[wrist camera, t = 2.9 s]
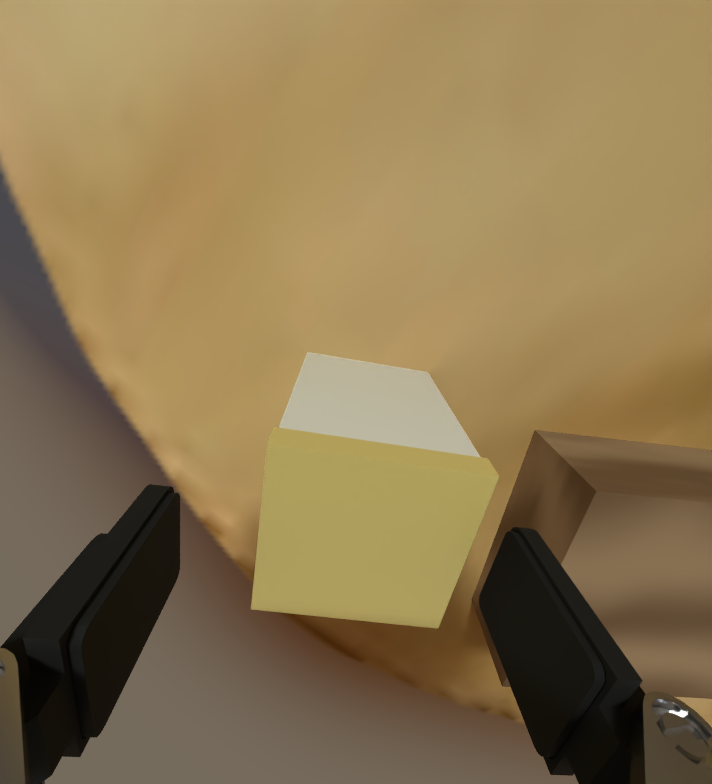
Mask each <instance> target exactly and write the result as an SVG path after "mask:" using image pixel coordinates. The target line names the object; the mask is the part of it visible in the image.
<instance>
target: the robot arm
mask: <svg viewBox="0 0 712 784" xmlns="http://www.w3.org/2000/svg"><path fill="white" fill-rule="evenodd" d="M179 570H180V495H179V494H178V493H174V489H173V487H168V486H160V485H152V484H150V485H148V486H147V487H146V488H145V489H144V490H143V491H142V493H141V494H140V495H139V496H138V497H137V499H136V500H135V501H134V502H133V503H132V505H131V506H130V507H129V508H128V510H127V511H126V512H125V513H124V515H123V516H122V517H121V518H120V519H119V521H118V522H117V523H116V524H115V526H114V527H113V528H112V529H111V530H110V532H109V533H108V534H99V535H97V536H96V537H95V538H94V539H93V540H92V541H91V542H90V543H89V544H88V545H87V546H86V548H85V549H84V550H83V551H82V552H81V554H80V555H79V556H78V557H77V558H76V559H75V561H74V562H73V563H72V564H71V565H70V566H69V568H68V569H67V570H66V571H65V572H64V574H63V575H62V576H61V577H60V578H59V579H58V580H57V582H56V583H55V584H54V585H53V586H52V587H51V589H50V590H49V591H48V592H47V593H46V594H45V596H44V597H43V598H42V599H41V600H40V602H39V603H38V604H37V605H36V606H35V607H34V609H33V610H32V611H31V612H30V613H29V614H28V616H27V617H26V618H25V619H24V620H23V621H22V623H21V624H20V625H19V626H18V627H17V628H16V630H15V631H14V632H13V633H12V634H11V635H10V637H9V638H8V639H7V640H6V641H5V643H4V644H3V645H2V646H1V647H0V784H45V780H46V779H47V778H48V777H50V776H51V775H52V774H53V772H54V770H55V768H56V766H57V765H58V763H59V761H60V759H61V757H62V756H67V757H68V756H69V757H80V756H81V754H82V752H83V750H84V748H85V746H86V744H87V743H88V740H89V739H90V737H97V736H98V735H99V734H100V733H101V731H102V730H103V728H104V726H105V725H106V722H107V720H108V718H109V716H110V714H111V712H112V710H113V708H114V706H115V704H116V702H117V700H118V698H119V696H120V694H121V692H122V690H123V688H124V686H125V684H126V682H127V680H128V678H129V676H130V674H131V672H132V669H133V668H134V665H135V664H136V662H137V660H138V657H139V656H140V654H141V652H142V650H143V647H144V645H145V643H146V641H147V639H148V637H149V635H150V633H151V631H152V629H153V627H154V625H155V623H156V621H157V619H158V617H159V615H160V613H161V611H162V609H163V607H164V605H165V603H166V600H167V599H168V597H169V594H170V592H171V591H172V589H173V587H174V585H175V583H176V580H177V578H178V574H179ZM479 606H480V610H481V612H482V615H483V617H484V620H485V622H486V625H487V628H488V630H489V633H490V635H491V638H492V640H493V643H494V645H495V648H496V650H497V653H498V656H499V658H500V661H501V663H502V666H503V668H504V671H505V673H506V676H507V678H508V681H509V683H510V686H511V689H512V691H513V694H514V696H515V699H516V701H517V704H518V706H519V709H520V711H521V714H522V716H523V719H524V722H525V724H526V727H527V729H528V732H529V734H530V737H531V739H532V742H533V744H534V747H535V749H536V751H537V752H538V754H540V755H541V756H543V757H544V759H545V762H546V764H547V767H548V769H549V772H550V774H551V775H573V774H575V776H576V778H577V781H578V783H579V784H712V727H711V726H710V725H709V724H708V723H707V722H706V721H705V720H704V719H703V718H702V717H701V716H700V715H699V714H698V713H697V712H696V711H694V710H693V709H692V708H690V707H689V706H688V705H686V704H685V703H684V702H682V701H681V700H679V699H677V698H675V697H673V696H671V695H669V694H666V693H663V692H660V691H650V692H649V693H647V694H645V693H644V691H643V690H642V688H641V687H640V684H641V683H642V681H643V680H642V679H641V678H640V676H639V675H638V673H637V672H636V670H635V669H634V668H633V666H632V665H631V663H630V662H629V661H628V659H627V658H626V656H625V655H624V653H623V652H622V651H621V649H620V648H619V646H618V645H617V644H616V642H615V641H614V639H613V638H612V636H611V635H610V634H609V632H608V631H607V629H606V628H605V627H604V625H603V624H602V622H601V621H600V619H599V618H598V617H597V615H596V614H595V612H594V611H593V610H592V608H591V607H590V605H589V604H588V602H587V601H586V600H585V598H584V597H583V595H582V594H581V593H580V591H579V590H578V588H577V587H576V585H575V584H574V583H573V581H572V580H571V578H570V577H569V576H568V574H567V573H566V571H565V570H564V568H563V567H562V566H561V564H560V563H559V561H558V560H557V559H556V557H555V556H554V554H553V553H552V551H551V550H550V549H549V547H548V546H547V544H546V543H545V542H544V540H543V539H542V537H541V536H540V534H539V533H538V532H537V531H536V530H534V529H530V528H522V527H513V528H512V529H511V531H508V532H506V534H505V536H504V538H503V541H502V543H501V545H500V548H499V550H498V552H497V555H496V557H495V559H494V562H493V564H492V567H491V569H490V571H489V574H488V576H487V578H486V581H485V583H484V585H483V588H482V590H481V593H480V595H479Z"/></svg>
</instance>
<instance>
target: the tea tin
mask: <svg viewBox="0 0 712 784" xmlns="http://www.w3.org/2000/svg"><path fill="white" fill-rule="evenodd" d="M498 479H499V475H498V474H497V472H496V471H495V469H494V468H493V466H492V464H491V463H490V461H489V460H488V458H481V457H480V456H479V454H478V452H477V451H476V449H475V448H474V446H473V444H472V443H471V441H470V440H469V438H468V436H467V435H466V433H465V431H464V430H463V428H462V427H461V425H460V423H459V422H458V420H457V419H456V417H455V415H454V414H453V412H452V410H451V409H450V407H449V406H448V404H447V402H446V401H445V399H444V398H443V396H442V394H441V393H440V391H439V390H438V388H437V386H436V385H435V383H434V381H433V380H432V378H431V377H430V375H429V373H428V372H424V371H418V370H412V369H406V368H400V367H394V366H388V365H382V364H376V363H370V362H364V361H358V360H352V359H346V358H340V357H335V356H329V355H323V354H317V353H311V352H307V355H306V357H305V360H304V362H303V365H302V368H301V370H300V373H299V376H298V378H297V381H296V384H295V386H294V389H293V391H292V394H291V397H290V399H289V402H288V405H287V407H286V410H285V412H284V415H283V418H282V420H281V423H280V426H279V427H274V428H273V430H272V433H271V435H270V438H269V440H268V442H267V451H266V461H265V471H264V481H263V491H262V501H261V512H260V522H259V532H258V542H257V552H256V563H255V573H254V583H253V594H252V604H251V609H252V610H262V611H273V612H282V613H291V614H301V615H311V616H320V617H330V618H340V619H349V620H359V621H369V622H379V623H388V624H398V625H408V626H417V627H427V628H437V629H438V628H439V625H440V623H441V620H442V618H443V615H444V613H445V610H446V608H447V605H448V603H449V600H450V598H451V595H452V593H453V590H454V588H455V585H456V583H457V580H458V578H459V576H460V573H461V571H462V568H463V566H464V563H465V561H466V558H467V556H468V553H469V551H470V548H471V546H472V543H473V541H474V538H475V536H476V533H477V531H478V528H479V526H480V523H481V521H482V518H483V516H484V513H485V511H486V508H487V506H488V503H489V501H490V498H491V496H492V493H493V491H494V488H495V486H496V483H497V481H498Z"/></svg>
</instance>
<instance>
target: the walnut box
mask: <svg viewBox="0 0 712 784" xmlns="http://www.w3.org/2000/svg"><path fill="white" fill-rule="evenodd" d="M513 527H522V528H530V529H534V530H536V531H537V532H538V533H539V534H540V536H541V537H542V539H543V540H544V542H545V543H546V544H547V546H548V547H549V549H550V550H551V551H552V553H553V554H554V556H555V557H556V559H557V560H558V561H559V563H560V564H561V566H562V567H563V568H564V570H565V571H566V573H567V574H568V576H569V577H570V578H571V580H572V581H573V583H574V584H575V585H576V587H577V588H578V590H579V591H580V593H581V594H582V595H583V597H584V598H585V600H586V601H587V602H588V604H589V605H590V607H591V608H592V610H593V611H594V612H595V614H596V615H597V617H598V618H599V619H600V621H601V622H602V624H603V625H604V627H605V628H606V629H607V631H608V632H609V634H610V635H611V636H612V638H613V639H614V641H615V642H616V644H617V645H618V646H619V648H620V649H621V651H622V652H623V653H624V655H625V656H626V658H627V659H628V661H629V662H630V663H631V665H632V666H633V668H634V669H635V670H636V672H637V673H638V675H639V676H640V678H641V679H642V680H643V681H642V683H641V684H640V687H641V688H642V690H643V691H644V693H645V694H647V693H649V692H650V691H660V692H663V693H666V694H669V695H671V696H675V697H692V698H709V699H712V450H705V449H696V448H687V447H679V446H670V445H661V444H652V443H644V442H635V441H626V440H617V439H608V438H600V437H591V436H582V435H573V434H565V433H556V432H547V431H538V430H535V431H534V434H533V437H532V439H531V442H530V445H529V447H528V450H527V453H526V455H525V458H524V461H523V463H522V466H521V469H520V472H519V474H518V477H517V480H516V482H515V485H514V488H513V490H512V493H511V496H510V498H509V501H508V504H507V506H506V509H505V512H504V515H503V517H502V520H501V523H500V525H499V528H498V531H497V533H496V536H495V539H494V541H493V544H492V547H491V549H490V552H489V555H488V558H487V560H486V563H485V566H484V568H483V571H482V574H481V576H480V579H479V582H478V584H477V587H476V590H475V593H474V595H473V598H472V601H473V604H474V607H475V610H476V613H477V616H478V619H479V621H480V624H481V627H482V630H483V633H484V636H485V639H486V641H487V644H488V647H489V650H490V653H491V656H492V659H493V661H494V664H495V667H496V670H497V673H498V676H499V679H500V682H501V684H502V686H505V687H511V686H510V683H509V681H508V678H507V676H506V673H505V671H504V668H503V666H502V663H501V661H500V658H499V656H498V653H497V650H496V648H495V645H494V643H493V640H492V638H491V635H490V633H489V630H488V628H487V625H486V622H485V620H484V617H483V615H482V612H481V610H480V606H479V595H480V593H481V590H482V588H483V585H484V583H485V581H486V578H487V576H488V574H489V571H490V569H491V567H492V564H493V562H494V559H495V557H496V555H497V552H498V550H499V548H500V545H501V543H502V541H503V538H504V536H505V534H506V532H508V531H511V529H512V528H513Z"/></svg>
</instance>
